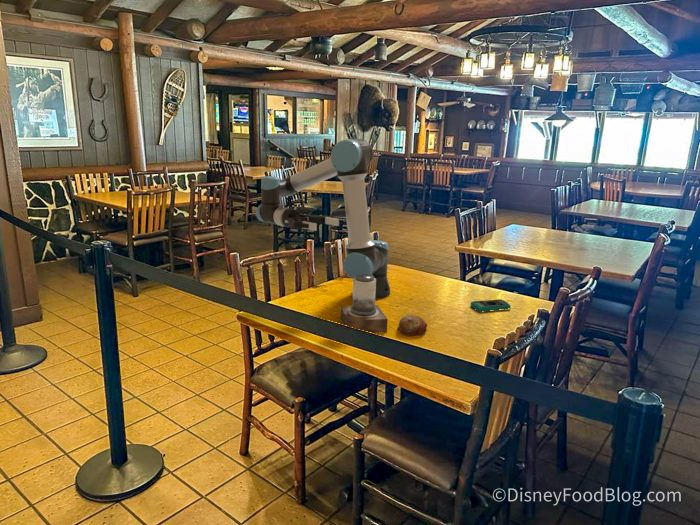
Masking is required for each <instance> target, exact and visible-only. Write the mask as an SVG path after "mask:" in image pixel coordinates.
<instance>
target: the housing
mask: <svg viewBox="0 0 700 525" xmlns="http://www.w3.org/2000/svg"><path fill="white" fill-rule="evenodd" d="M352 282H353V283H352V301H351V302H352V305H350V306H351V309H350V311H351V313H352V314H355V315H358V316H371V315H374V314H375V313H376V307H375V305H376V299H375V293H376V279H375V278H374V276H373V275H370V274H358V275H356V277H354V278H353V279H352Z"/></svg>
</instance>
